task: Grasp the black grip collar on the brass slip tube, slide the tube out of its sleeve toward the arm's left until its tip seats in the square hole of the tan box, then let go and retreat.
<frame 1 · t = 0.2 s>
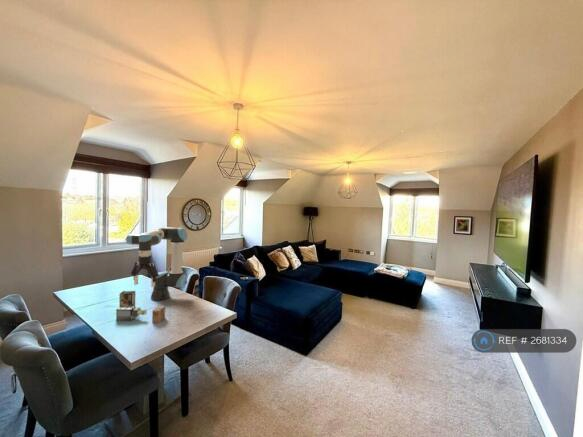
hand: (144, 285, 172), 27 cm above the table, fingers open, 13 cm apart
coffee box: (127, 312, 188), on the table
sleeve: (126, 319, 178), on the table
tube: (133, 312, 177), point 6 cm above the table, slide at 0.0 cm
tan box: (158, 320, 178), on the table
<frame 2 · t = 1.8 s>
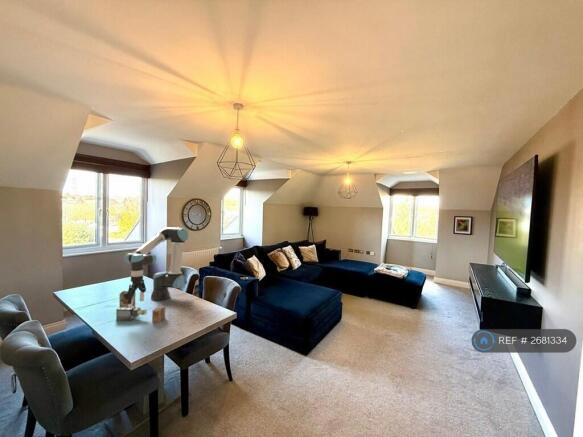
hand: (136, 304, 177), 11 cm above the table, fingers open, 13 cm apart
nothing on the table moved.
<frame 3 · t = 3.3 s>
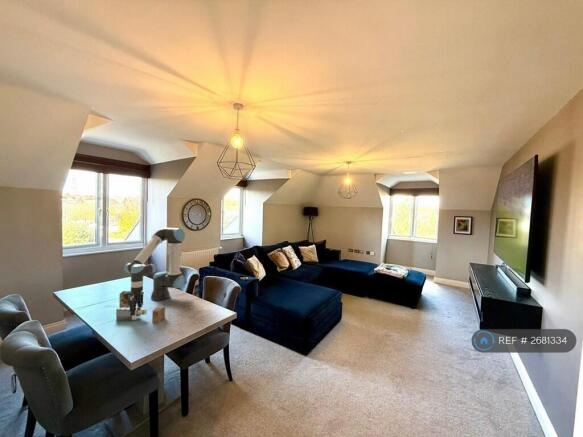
hand: (136, 317, 178), 2 cm above the table, fingers closed on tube, 5 cm apart
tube: (133, 312, 177), point 6 cm above the table, slide at 0.0 cm, touching gripper
everything else where it was.
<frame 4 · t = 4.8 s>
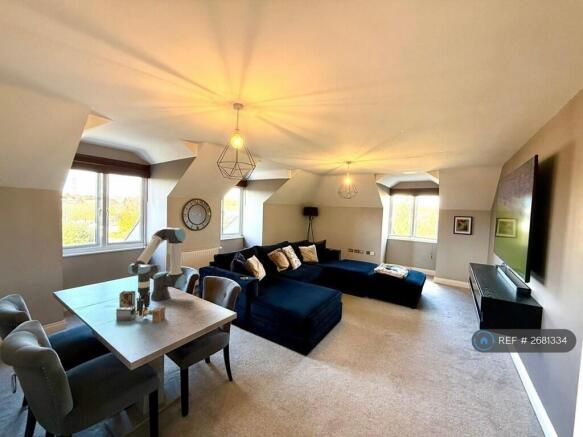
hand: (143, 317, 178), 2 cm above the table, fingers closed on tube, 5 cm apart
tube: (140, 312, 178), point 6 cm above the table, slide at 5.0 cm, touching gripper
everything else where it was.
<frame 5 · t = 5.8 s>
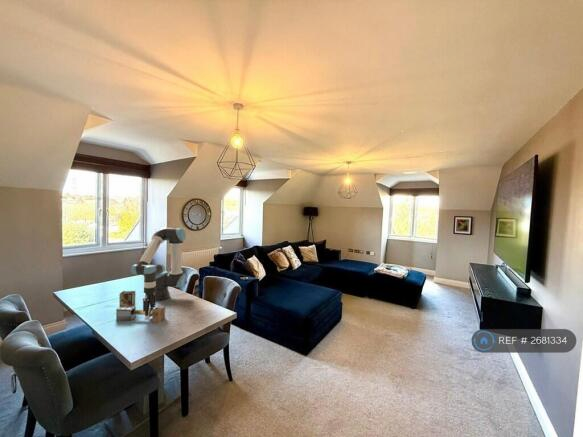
hand: (149, 317, 178), 2 cm above the table, fingers closed on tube, 5 cm apart
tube: (146, 312, 178), point 6 cm above the table, slide at 9.3 cm, touching gripper
everything else where it was.
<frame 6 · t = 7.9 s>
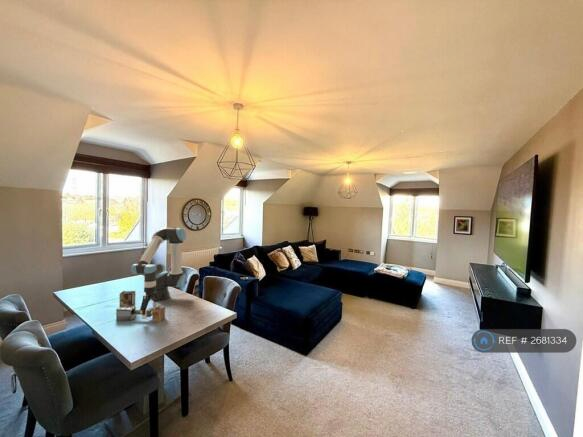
hand: (149, 314, 178), 4 cm above the table, fingers open, 13 cm apart
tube: (146, 312, 178), point 6 cm above the table, slide at 9.5 cm
everything else where it was.
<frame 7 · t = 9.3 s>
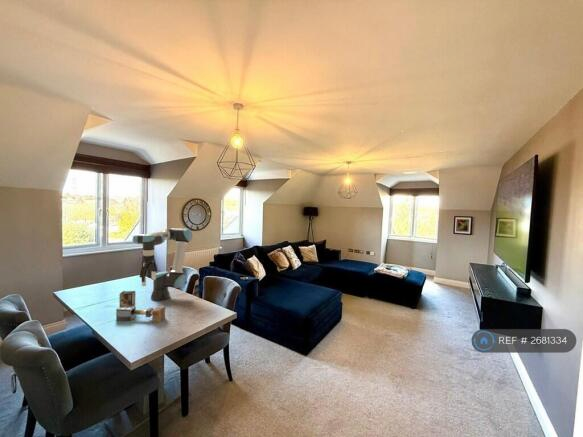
hand: (148, 282, 183), 26 cm above the table, fingers open, 13 cm apart
nothing on the table moved.
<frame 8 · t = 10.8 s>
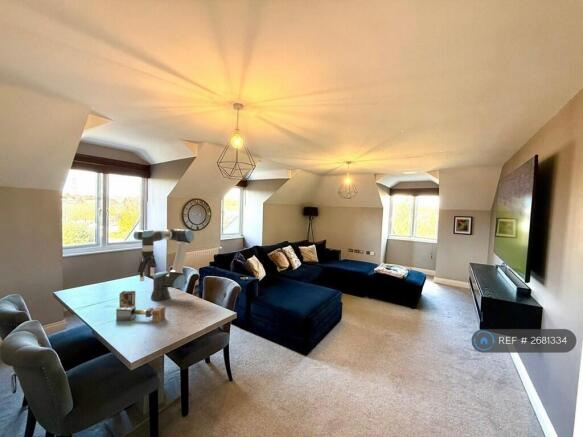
hand: (147, 278, 184), 29 cm above the table, fingers open, 13 cm apart
nothing on the table moved.
at the end: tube slide at 9.5 cm; the gripper is holding nothing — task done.
